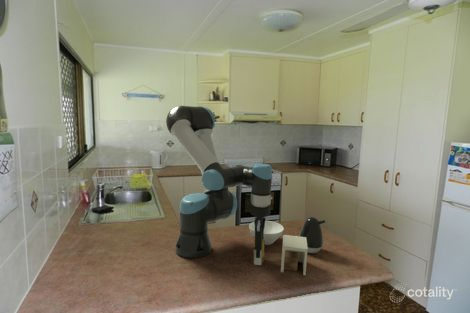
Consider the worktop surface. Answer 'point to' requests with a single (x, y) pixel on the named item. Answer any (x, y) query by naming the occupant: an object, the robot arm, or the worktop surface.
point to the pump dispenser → (313, 234)
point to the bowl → (269, 231)
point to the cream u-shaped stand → (295, 249)
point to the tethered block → (289, 259)
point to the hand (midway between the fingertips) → (258, 261)
